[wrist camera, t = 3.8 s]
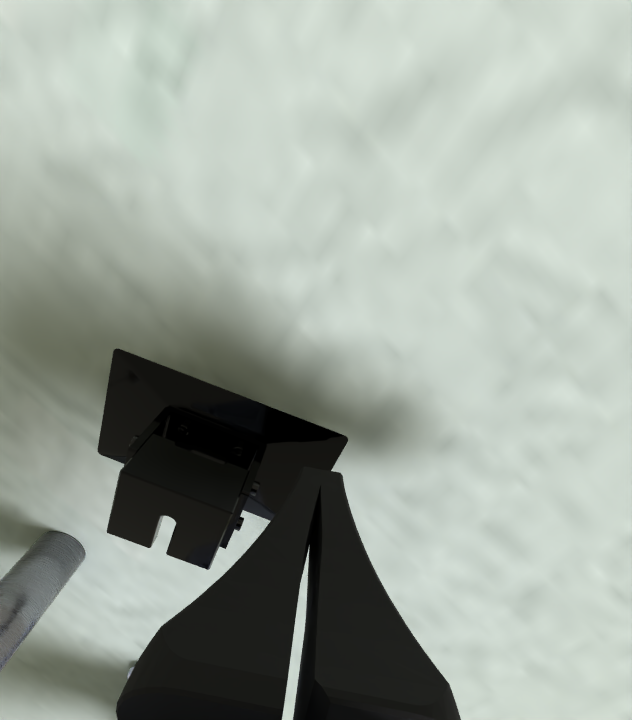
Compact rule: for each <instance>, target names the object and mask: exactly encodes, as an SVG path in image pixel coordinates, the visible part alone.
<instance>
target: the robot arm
mask: <svg viewBox="0 0 632 720" xmlns="http://www.w3.org/2000/svg"><path fill="white" fill-rule="evenodd" d="M309 544H310V546H309ZM308 548H309V566H308V587H307V608H306V622H305V633H304V641H303V648H302V656H301V664H300V672H299V679H298V687H297V694H296V702H295V709H294V717H293V720H461V719H460V715H459V712H458V709H457V705H456V702H455V699H454V696H453V693H452V690H451V688H450V685H449V683H448V682H447V681H446V679H445V678H444V677H443V675H442V674H441V673H440V672H439V670H438V669H437V668H436V666H435V665H434V664H433V662H432V661H431V660H430V658H429V657H428V656H427V654H426V653H425V652H424V650H423V649H422V647H421V646H420V644H419V643H418V642H417V640H416V639H415V637H414V636H413V634H412V633H411V631H410V630H409V628H408V627H407V625H406V624H405V622H404V620H403V619H402V617H401V616H400V614H399V612H398V611H397V609H396V608H395V606H394V604H393V603H392V601H391V599H390V598H389V596H388V594H387V592H386V591H385V589H384V587H383V585H382V583H381V581H380V580H379V578H378V576H377V574H376V572H375V570H374V568H373V566H372V564H371V561H370V559H369V557H368V555H367V553H366V550H365V548H364V546H363V543H362V541H361V538H360V536H359V533H358V531H357V528H356V525H355V522H354V519H353V516H352V513H351V510H350V507H349V504H348V500H347V496H346V492H345V488H344V483H343V476H342V475H341V473H339V472H333V471H328V470H322V469H316V468H311V467H305V466H304V467H302V468H301V469H300V472H299V475H298V477H297V480H296V482H295V484H294V486H293V488H292V489H291V491H290V493H289V495H288V496H287V498H286V499H285V501H284V503H283V504H282V506H281V507H280V509H279V510H278V512H277V513H276V515H275V516H274V517H273V519H272V520H271V522H270V523H269V524H268V526H267V527H266V528H265V530H264V531H263V532H262V533H261V535H260V536H259V537H258V538H257V540H256V541H255V542H254V543H253V544H252V545H251V547H250V548H249V549H248V550H247V551H246V552H245V553H244V554H243V555H242V556H241V558H240V559H239V560H238V561H237V562H236V563H235V564H234V565H233V566H232V567H231V568H230V569H229V570H228V571H227V572H226V573H225V574H224V575H223V576H222V577H221V578H220V579H218V580H217V581H216V582H215V583H214V584H213V585H212V586H211V587H209V588H208V589H207V590H206V591H205V592H204V593H203V594H202V595H200V596H199V597H198V598H197V599H196V600H195V601H193V602H192V603H191V604H190V605H188V606H187V607H186V608H185V609H183V610H182V611H181V612H179V613H178V614H177V615H175V616H174V617H173V618H172V619H170V620H169V621H168V622H166V623H165V624H164V625H163V626H161V628H160V629H159V630H158V632H157V633H156V634H155V636H154V637H153V639H152V640H151V641H150V643H149V644H148V646H147V647H146V649H145V650H144V652H143V653H142V655H141V657H140V658H139V660H138V662H137V663H136V665H135V666H134V667H131V668H130V670H129V672H128V675H127V678H128V681H127V683H126V685H125V687H124V689H123V691H122V693H121V696H120V698H119V700H118V702H117V709H116V713H117V719H118V720H282V714H283V708H284V701H285V694H286V687H287V680H288V672H289V664H290V656H291V648H292V641H293V633H294V625H295V618H296V610H297V603H298V595H299V588H300V582H301V578H302V574H303V570H304V565H305V561H306V557H307V553H308Z"/></svg>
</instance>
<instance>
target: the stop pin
mask: <svg viewBox="0 0 632 720" xmlns="http://www.w3.org/2000/svg"><path fill="white" fill-rule="evenodd" d="M84 559H85V551H84V548H83V547H82V545H81V544H80V543H79V542H78V541H77V540H76V539H74V538H73V537H71V536H69V535H67V534H64V533H61V532H54V531H52V532H47V533H44V534H43V535H42V536H41V537H40V538H39V539H38V540H37V541H36V542H35V543H34V544H33V546H32V547H31V548H30V549H29V550H28V551H27V552H26V553H25V554H24V555H23V556H22V557H21V559H20V560H19V561H18V562H17V563H16V564H15V565H14V566H13V567H12V568H11V569H10V571H9V572H8V573H7V574H6V575H5V576H4V577H3V578H2V579H1V580H0V672H1V671H2V669H3V668H4V666H5V665H6V664H7V662H8V661H9V660H10V658H11V657H12V656H13V654H14V653H15V652H16V650H17V649H18V648H19V646H20V645H21V644H22V642H23V641H24V640H25V638H26V637H27V636H28V634H29V633H30V632H31V630H32V629H33V628H34V626H35V625H36V624H37V622H38V621H39V620H40V618H41V617H42V615H43V614H44V613H45V611H46V610H47V609H48V607H49V606H50V605H51V603H52V602H53V601H54V599H55V598H56V597H57V595H58V594H59V593H60V591H61V590H62V589H63V587H64V586H65V585H66V583H67V582H68V581H69V579H70V578H71V577H72V575H73V574H74V573H75V571H76V570H77V568H78V567H79V566H80V564H81V563H82V562H83V560H84Z"/></svg>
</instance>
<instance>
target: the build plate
mask: <svg viewBox="0 0 632 720" xmlns="http://www.w3.org/2000/svg"><path fill="white" fill-rule="evenodd" d="M347 442H348V438H347V437H346V436H344V435H342V434H339V433H337V432H334V431H331V430H329V429H326V428H324V427H321V426H318V425H316V424H313V423H311V422H308V421H305V420H303V419H300V418H298V417H295V416H292V415H290V414H287V413H285V412H282V411H279V410H277V409H274V408H272V407H269V406H266V405H264V404H261V403H259V402H256V401H253V400H251V399H248V398H246V397H243V396H240V395H238V394H235V393H233V392H230V391H227V390H225V389H222V388H220V387H217V386H214V385H212V384H209V383H207V382H204V381H201V380H199V379H196V378H194V377H191V376H188V375H186V374H183V373H181V372H178V371H175V370H173V369H170V368H168V367H165V366H162V365H160V364H157V363H155V362H152V361H149V360H147V359H144V358H142V357H139V356H136V355H134V354H131V353H129V352H126V351H123V350H121V349H115V350H114V352H113V358H112V364H111V370H110V376H109V383H108V389H107V395H106V401H105V407H104V414H103V420H102V426H101V432H100V438H99V445H98V453H99V454H101V455H103V456H105V457H108V458H111V459H113V460H116V461H118V462H121V463H124V467H123V468H122V469H121V470H120V473H119V478H118V482H117V487H116V491H115V496H114V500H113V505H112V509H111V514H110V519H109V523H108V528H107V533H109V534H112V535H115V536H118V537H120V538H123V539H126V540H128V541H131V542H134V543H137V544H139V545H142V546H145V547H147V548H150V547H151V546H152V545H153V543H154V541H155V540H156V538H157V535H158V532H159V528H160V525H161V522H162V519H163V516H169V517H171V518H173V519H174V520H175V522H176V526H175V529H174V532H173V535H172V538H171V541H170V544H169V547H168V549H167V552H166V553H167V555H169V556H172V557H175V558H177V559H180V560H183V561H186V562H188V563H191V564H194V565H197V566H199V567H202V568H205V569H207V570H208V569H210V567H211V564H212V562H213V560H214V557H215V555H216V553H217V550H218V548H219V546H220V547H222V548H225V549H226V547H227V545H228V542H229V540H230V538H231V536H232V533H233V531H234V529H235V530H238V531H239V530H240V528H241V526H242V523H243V521H244V518H242V517H240V515H241V513H242V510H245V511H247V512H250V513H252V514H255V515H257V516H260V517H263V518H265V519H268V520H270V521H271V520H272V519H273V517H274V516H275V515H276V513H277V512H278V510H279V509H280V507H281V506H282V504H283V503H284V501H285V499H286V498H287V496H288V495H289V493H290V491H291V489H292V488H293V486H294V484H295V482H296V480H297V477H298V475H299V472H300V469H301V468H302V467H304V466H305V467H311V468H316V469H322V470H328V471H331V470H332V468H333V466H334V464H335V463H336V461H337V459H338V457H339V456H340V454H341V452H342V450H343V449H344V447H345V445H346V443H347Z"/></svg>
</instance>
